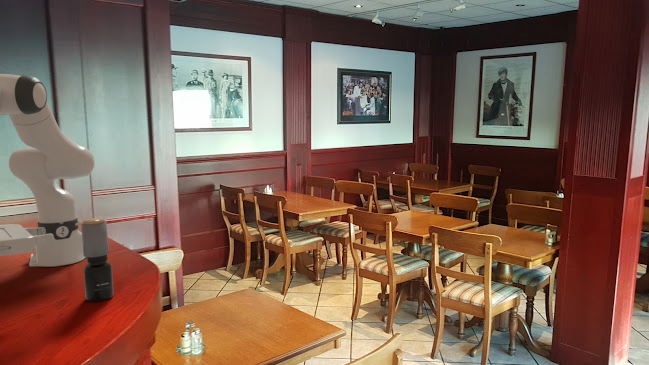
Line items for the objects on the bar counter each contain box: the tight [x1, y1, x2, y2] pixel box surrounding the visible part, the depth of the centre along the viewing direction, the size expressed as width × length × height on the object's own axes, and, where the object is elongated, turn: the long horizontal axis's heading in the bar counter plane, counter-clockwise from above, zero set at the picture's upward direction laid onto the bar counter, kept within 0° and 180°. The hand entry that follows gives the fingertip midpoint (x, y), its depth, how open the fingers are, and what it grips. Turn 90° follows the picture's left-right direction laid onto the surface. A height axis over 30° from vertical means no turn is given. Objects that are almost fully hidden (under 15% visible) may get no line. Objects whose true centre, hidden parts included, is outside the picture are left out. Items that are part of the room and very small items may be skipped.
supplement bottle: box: [83, 254, 114, 303], centre depth 128 cm, size 7×7×12 cm
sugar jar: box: [80, 217, 110, 258], centre depth 127 cm, size 6×6×9 cm
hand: (49, 233), depth 120 cm, fingers open, 8 cm apart
